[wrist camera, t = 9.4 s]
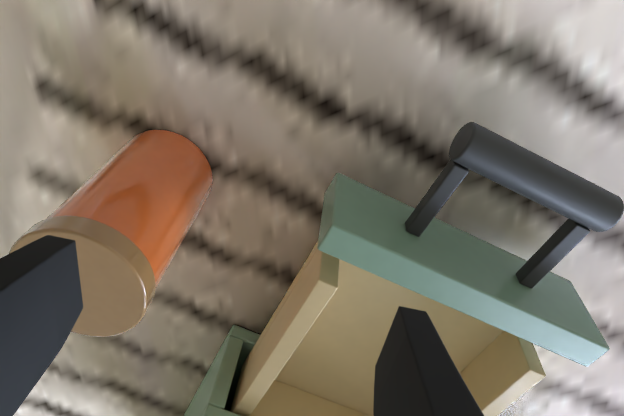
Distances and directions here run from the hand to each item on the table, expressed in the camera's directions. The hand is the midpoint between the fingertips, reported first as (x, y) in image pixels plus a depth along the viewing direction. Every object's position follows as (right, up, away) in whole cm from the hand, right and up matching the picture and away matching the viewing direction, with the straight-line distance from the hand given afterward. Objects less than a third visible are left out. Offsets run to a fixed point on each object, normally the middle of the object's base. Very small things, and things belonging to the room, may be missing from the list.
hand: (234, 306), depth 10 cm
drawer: (+6, -2, +11) cm, 13 cm away
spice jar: (-5, +4, +10) cm, 11 cm away
